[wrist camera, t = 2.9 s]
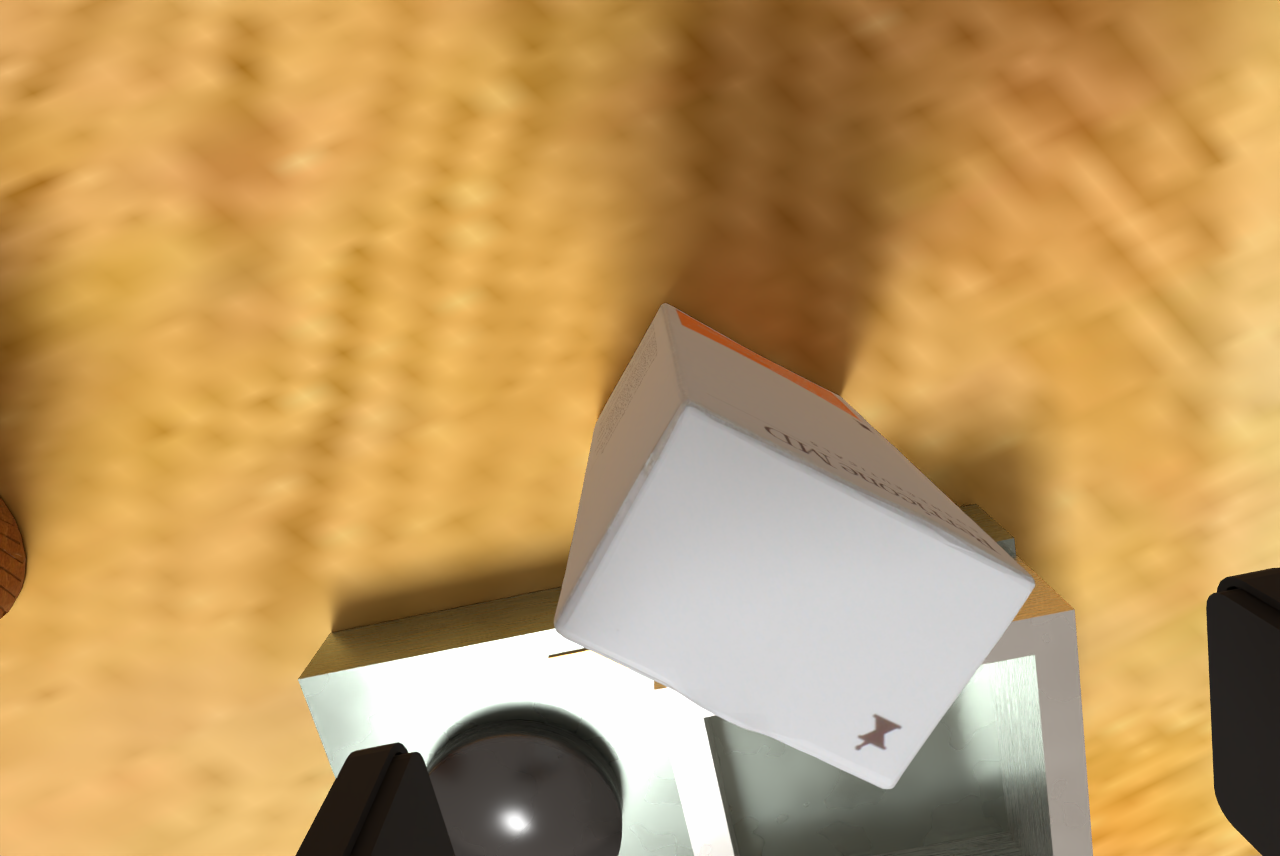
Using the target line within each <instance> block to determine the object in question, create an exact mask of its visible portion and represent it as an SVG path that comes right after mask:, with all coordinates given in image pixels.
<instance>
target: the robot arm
mask: <svg viewBox="0 0 1280 856" xmlns="http://www.w3.org/2000/svg"><path fill="white" fill-rule="evenodd" d="M1206 610H1207V633H1208V656H1209V679H1210V703H1211V726H1212V749H1213V772H1214V789H1215V795H1216V798H1217V801H1218V803H1219V806H1220V808H1221V810H1222V812H1223V813H1224V815H1225V816H1226V818H1227V819H1228V821H1229V822H1230V823H1231V824H1232V825H1233V827H1234V828H1235V829H1236V830H1237V831H1238V832H1239V833H1240V834H1241V835H1242V836H1243V837H1244V838H1245V839H1246V840H1247V841H1248V842H1249V843H1250V844H1251V845H1252V846H1253V847H1254V848H1255V849H1256V850H1257V851H1258V852H1259V853H1260V854H1261V855H1262V856H1280V568H1271V569H1266V570H1261V571H1256V572H1251V573H1246V574H1241V575H1236V576H1231V577H1226V578H1225V579H1223V580H1222V581H1221V582H1220V584H1219V586H1218V588H1217V593H1213V594H1212V595H1210V596H1209V598H1208V600H1207V607H1206ZM296 856H455V853H454V850H453V847H452V844H451V841H450V838H449V835H448V832H447V828H446V825H445V822H444V819H443V816H442V813H441V810H440V807H439V804H438V801H437V798H436V795H435V792H434V789H433V786H432V783H431V780H430V777H429V773H428V770H427V767H426V764H425V762H424V759H423V757H422V755H421V754H420V753H419V752H411V753H408V751H407V749H406V747H405V746H404V745H403V744H402V743H399V742H397V743H391V744H386V745H381V746H376V747H371V748H366V749H361V750H356V751H354V752H351V753H350V755H349V756H348V757H347V759H346V761H345V762H344V764H343V766H342V768H341V770H340V772H339V774H338V776H337V778H336V780H335V781H334V783H333V785H332V787H331V789H330V791H329V793H328V795H327V797H326V799H325V801H324V802H323V804H322V806H321V808H320V810H319V812H318V814H317V816H316V818H315V820H314V821H313V823H312V825H311V827H310V829H309V831H308V833H307V835H306V837H305V839H304V840H303V842H302V844H301V846H300V848H299V850H298V852H297V854H296Z"/></svg>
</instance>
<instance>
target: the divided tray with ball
mask: <svg viewBox="0 0 1280 856" xmlns="http://www.w3.org/2000/svg"><path fill="white" fill-rule="evenodd" d="M959 508H960V509H961V510H962V511H963V512H964V513H965V514H966V515H967V516H968V517H970V518H971V519H972V520H973V521H974V522H975V523H976V524H977V525H978V526H979V527H980V528H981V529H982V530H983V531H984V532H986V533H987V534H988V535H989V536H990V537H991V538H992V539H993V540H994V541H995V542H996V543H997V544H998V545H999V546H1000V547H1001V548H1003V549H1004V550H1005V551H1006V552H1007V553H1008V554H1009V555H1010V556H1011V557H1012V558H1013V559H1014V560H1015V561H1016V562H1017V563H1018V564H1019V565H1020V566H1021V567H1022V568H1024V569H1025V570H1026V571H1027V572H1028V573H1029V574H1030V575H1031V576H1032V577H1033V578H1034V581H1035V587H1034V589H1033V590H1032V592H1031V593H1030V595H1029V597H1028V598H1027V600H1026V601H1025V603H1024V604H1023V606H1022V607H1021V609H1020V610H1019V612H1018V613H1017V615H1016V616H1015V618H1014V619H1013V621H1012V622H1011V623H1010V625H1009V626H1008V628H1007V629H1006V631H1005V632H1004V634H1003V635H1002V637H1001V638H1000V639H999V641H998V642H997V643H996V645H995V646H994V648H993V649H992V650H991V652H990V653H989V654H988V656H987V657H986V658H985V660H984V661H983V663H982V664H981V665H980V667H979V668H978V669H977V671H976V672H975V674H974V675H973V676H972V678H971V679H970V681H969V682H968V683H967V685H966V686H965V687H964V689H963V690H962V691H961V693H960V694H959V695H958V697H957V698H956V700H955V701H954V702H953V704H952V705H951V706H950V708H949V709H948V710H947V712H946V713H945V715H944V716H943V717H942V719H941V720H940V722H939V723H938V724H937V726H936V727H935V728H934V730H933V731H932V733H931V734H930V736H929V737H928V738H927V740H926V741H925V743H924V744H923V745H922V747H921V748H920V750H919V751H918V752H917V754H916V755H915V757H914V758H913V760H912V761H911V762H910V764H909V765H908V767H907V768H906V770H905V771H904V773H903V774H902V776H901V777H900V779H899V780H898V782H897V784H896V785H895V787H893V788H892V789H882V788H880V787H877V786H875V785H873V784H871V783H869V782H867V781H865V780H863V779H860V778H858V777H856V776H854V775H852V774H850V773H847V772H845V771H843V770H841V769H839V768H837V767H835V766H832V765H830V764H828V763H826V762H824V761H822V760H820V759H818V758H816V757H814V756H811V755H809V754H807V753H804V752H802V751H799V750H797V749H795V748H793V747H791V746H789V745H787V744H785V743H782V742H780V741H778V740H776V739H774V738H772V737H769V736H767V735H764V734H761V733H757V732H753V731H749V730H747V729H744V728H741V727H739V726H737V725H735V724H733V723H730V722H728V721H726V720H724V719H722V718H720V717H718V716H716V715H715V714H713V713H711V712H709V711H707V710H705V709H703V708H701V707H699V706H698V705H696V704H695V703H693V702H691V701H690V700H688V699H687V698H685V697H684V696H682V695H680V694H679V693H677V692H676V691H674V690H672V689H670V688H668V687H666V686H664V685H662V684H660V683H658V682H656V681H654V680H651V679H649V678H647V677H645V676H643V675H640V674H638V673H636V672H634V671H632V670H630V669H628V668H626V667H624V666H622V665H620V664H618V663H615V662H613V661H611V660H609V659H607V658H605V657H603V656H601V655H599V654H597V653H594V652H592V651H590V650H588V649H586V648H584V647H582V646H580V645H578V644H575V643H573V642H571V641H569V640H567V639H565V638H564V637H562V636H561V635H560V634H558V633H557V631H556V629H555V626H554V617H555V613H556V609H557V605H558V601H559V597H560V594H561V589H562V587H558V588H553V589H548V590H543V591H538V592H533V593H528V594H523V595H518V596H513V597H508V598H503V599H498V600H493V601H488V602H483V603H478V604H473V605H468V606H463V607H458V608H453V609H448V610H443V611H438V612H433V613H428V614H423V615H418V616H413V617H408V618H403V619H398V620H393V621H388V622H383V623H378V624H373V625H368V626H363V627H358V628H353V629H348V630H343V631H338V632H333V633H330V634H329V636H328V637H327V639H326V640H325V642H324V643H323V644H322V646H321V647H320V649H319V650H318V652H317V653H316V654H315V656H314V657H313V659H312V660H311V662H310V663H309V664H308V666H307V667H306V669H305V670H304V672H303V673H302V674H301V676H300V677H299V679H298V681H299V683H300V686H301V689H302V691H303V694H304V696H305V699H306V702H307V704H308V707H309V710H310V712H311V715H312V718H313V720H314V723H315V725H316V728H317V731H318V733H319V736H320V739H321V741H322V744H323V747H324V749H325V752H326V754H327V757H328V760H329V762H330V765H331V768H332V770H333V773H334V776H335V778H337V776H338V774H339V772H340V770H341V768H342V766H343V764H344V762H345V761H346V759H347V757H348V756H349V755H350V753H351V752H354V751H356V750H361V749H366V748H371V747H376V746H381V745H386V744H391V743H397V742H399V743H402V744H403V745H404V746H405V747H406V749H407V751H408V753H411V752H419V753H420V754H421V755H422V757H423V759H424V762H425V764H426V767H427V770H428V773H429V777H430V780H431V783H432V786H433V789H434V792H435V795H436V798H437V801H438V804H439V807H440V810H441V813H442V816H443V819H444V822H445V825H446V828H447V832H448V835H449V838H450V841H451V844H452V847H453V850H454V853H455V856H1093V849H1092V836H1091V823H1090V809H1089V796H1088V783H1087V769H1086V756H1085V743H1084V729H1083V716H1082V703H1081V689H1080V676H1079V663H1078V649H1077V636H1076V623H1075V610H1074V609H1073V608H1072V607H1071V606H1070V605H1069V604H1068V603H1067V602H1066V601H1065V600H1064V599H1063V598H1062V597H1060V596H1059V595H1058V594H1057V593H1056V592H1055V591H1054V590H1053V589H1052V588H1051V587H1050V586H1049V585H1048V584H1047V583H1045V582H1044V581H1043V580H1042V579H1041V578H1040V577H1039V576H1038V575H1037V574H1036V573H1035V572H1034V571H1033V570H1032V569H1030V568H1029V567H1028V566H1027V565H1026V564H1025V563H1024V562H1023V561H1022V560H1021V559H1020V558H1019V557H1018V556H1017V555H1016V551H1015V541H1014V537H1013V536H1011V535H1010V534H1009V533H1008V532H1007V531H1006V530H1005V529H1004V528H1002V527H1001V526H1000V525H999V524H998V523H997V522H996V521H995V520H993V519H992V518H991V517H990V516H989V515H988V514H987V513H986V512H985V511H983V510H982V509H981V508H980V507H979V506H978V505H977V504H973V505H968V506H963V507H959Z"/></svg>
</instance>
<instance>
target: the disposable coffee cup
mask: <svg viewBox="0 0 1280 856" xmlns="http://www.w3.org/2000/svg"><path fill="white" fill-rule="evenodd" d="M25 560H26V558H25V553H24V548H23V543H22V538H21V534H20V532H19V529H18V527H17V524H16V522H15V519H14V518H13V516H12V514H11V513H10V511H9V510H8V508H7V506H6V505H5V503H4V501H3V500H2V499H1V498H0V619H1V618H2V617H3V616H4V615H5V614H6V613H8V612H9V610H10V608H11V607H12V605H13V603H14V602H15V600H16V598H17V596H18V595H19V593H20V591H21V588H22V584H23V581H24V578H25Z"/></svg>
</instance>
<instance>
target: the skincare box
mask: <svg viewBox="0 0 1280 856" xmlns="http://www.w3.org/2000/svg"><path fill="white" fill-rule="evenodd" d="M1034 587H1035V581H1034V578H1033V577H1032V576H1031V575H1030V574H1029V573H1028V572H1027V571H1026V570H1025V569H1024V568H1022V567H1021V566H1020V565H1019V564H1018V563H1017V562H1016V561H1015V560H1014V559H1013V558H1012V557H1011V556H1010V555H1009V554H1008V553H1007V552H1006V551H1005V550H1004V549H1003V548H1001V547H1000V546H999V545H998V544H997V543H996V542H995V541H994V540H993V539H992V538H991V537H990V536H989V535H988V534H987V533H986V532H984V531H983V530H982V529H981V528H980V527H979V526H978V525H977V524H976V523H975V522H974V521H973V520H972V519H971V518H970V517H968V516H967V515H966V514H965V513H964V512H963V511H962V510H961V509H960V508H959V507H958V506H957V505H956V504H954V503H953V502H952V501H951V500H950V499H949V498H948V497H947V496H946V495H945V494H944V493H943V492H942V491H941V490H940V489H939V488H938V487H936V486H935V485H934V484H933V483H932V482H931V481H930V480H929V479H928V478H927V477H926V476H925V475H924V474H923V473H921V472H920V471H919V470H918V469H917V468H916V467H915V466H914V465H913V464H912V463H911V462H910V461H909V460H908V459H907V458H906V457H905V456H904V455H903V454H902V453H901V452H900V451H898V450H897V449H896V448H895V447H894V446H893V445H892V444H890V443H889V442H888V441H887V440H886V439H885V438H884V437H883V436H882V435H881V434H880V433H879V432H878V431H876V430H875V429H874V428H873V427H872V426H871V425H870V424H869V423H868V422H867V421H866V420H865V419H864V418H863V417H862V416H861V415H860V414H859V413H857V412H856V411H855V410H854V409H853V408H852V407H851V406H850V405H849V404H848V403H847V402H846V401H845V400H844V399H843V398H842V397H840V396H839V395H837V394H835V393H833V392H831V391H829V390H827V389H825V388H823V387H821V386H819V385H817V384H815V383H813V382H811V381H809V380H807V379H805V378H803V377H801V376H799V375H797V374H795V373H793V372H791V371H789V370H787V369H785V368H784V367H782V366H780V365H778V364H776V363H774V362H772V361H770V360H768V359H766V358H764V357H762V356H760V355H758V354H756V353H755V352H753V351H751V350H749V349H747V348H745V347H743V346H742V345H740V344H738V343H736V342H735V341H733V340H731V339H730V338H728V337H726V336H724V335H722V334H721V333H719V332H717V331H715V330H714V329H712V328H710V327H708V326H706V325H705V324H703V323H701V322H699V321H698V320H696V319H694V318H692V317H691V316H689V315H687V314H685V313H684V312H682V311H680V310H678V309H677V308H675V307H673V306H671V305H669V304H667V303H663V304H662V305H661V306H660V308H659V310H658V312H657V314H656V316H655V317H654V319H653V321H652V323H651V325H650V326H649V328H648V330H647V332H646V334H645V335H644V337H643V339H642V341H641V343H640V344H639V346H638V348H637V350H636V352H635V353H634V355H633V357H632V359H631V361H630V362H629V364H628V366H627V368H626V369H625V371H624V373H623V375H622V376H621V378H620V380H619V382H618V383H617V385H616V387H615V389H614V391H613V392H612V394H611V396H610V398H609V400H608V401H607V403H606V405H605V407H604V409H603V411H602V412H601V414H600V416H599V418H598V420H597V422H596V424H595V428H594V433H593V437H592V443H591V448H590V453H589V458H588V463H587V468H586V473H585V478H584V484H583V489H582V494H581V499H580V503H579V509H578V514H577V519H576V524H575V529H574V534H573V539H572V543H571V547H570V553H569V558H568V562H567V567H566V572H565V577H564V580H563V584H562V589H561V594H560V597H559V601H558V605H557V609H556V613H555V617H554V626H555V629H556V631H557V633H558V634H560V635H561V636H562V637H564V638H565V639H567V640H569V641H571V642H573V643H575V644H578V645H580V646H582V647H584V648H586V649H588V650H590V651H592V652H594V653H597V654H599V655H601V656H603V657H605V658H607V659H609V660H611V661H613V662H615V663H618V664H620V665H622V666H624V667H626V668H628V669H630V670H632V671H634V672H636V673H638V674H640V675H643V676H645V677H647V678H649V679H651V680H654V681H656V682H658V683H660V684H662V685H664V686H666V687H668V688H670V689H672V690H674V691H676V692H677V693H679V694H680V695H682V696H684V697H685V698H687V699H688V700H690V701H691V702H693V703H695V704H696V705H698V706H699V707H701V708H703V709H705V710H707V711H709V712H711V713H713V714H715V715H716V716H718V717H720V718H722V719H724V720H726V721H728V722H730V723H733V724H735V725H737V726H739V727H741V728H744V729H747V730H749V731H753V732H757V733H761V734H764V735H767V736H769V737H772V738H774V739H776V740H778V741H780V742H782V743H785V744H787V745H789V746H791V747H793V748H795V749H797V750H799V751H802V752H804V753H807V754H809V755H811V756H814V757H816V758H818V759H820V760H822V761H824V762H826V763H828V764H830V765H832V766H835V767H837V768H839V769H841V770H843V771H845V772H847V773H850V774H852V775H854V776H856V777H858V778H860V779H863V780H865V781H867V782H869V783H871V784H873V785H875V786H877V787H880V788H882V789H892V788H893V787H895V785H896V784H897V782H898V780H899V779H900V777H901V776H902V774H903V773H904V771H905V770H906V768H907V767H908V765H909V764H910V762H911V761H912V760H913V758H914V757H915V755H916V754H917V752H918V751H919V750H920V748H921V747H922V745H923V744H924V743H925V741H926V740H927V738H928V737H929V736H930V734H931V733H932V731H933V730H934V728H935V727H936V726H937V724H938V723H939V722H940V720H941V719H942V717H943V716H944V715H945V713H946V712H947V710H948V709H949V708H950V706H951V705H952V704H953V702H954V701H955V700H956V698H957V697H958V695H959V694H960V693H961V691H962V690H963V689H964V687H965V686H966V685H967V683H968V682H969V681H970V679H971V678H972V676H973V675H974V674H975V672H976V671H977V669H978V668H979V667H980V665H981V664H982V663H983V661H984V660H985V658H986V657H987V656H988V654H989V653H990V652H991V650H992V649H993V648H994V646H995V645H996V643H997V642H998V641H999V639H1000V638H1001V637H1002V635H1003V634H1004V632H1005V631H1006V629H1007V628H1008V626H1009V625H1010V623H1011V622H1012V621H1013V619H1014V618H1015V616H1016V615H1017V613H1018V612H1019V610H1020V609H1021V607H1022V606H1023V604H1024V603H1025V601H1026V600H1027V598H1028V597H1029V595H1030V593H1031V592H1032V590H1033V589H1034Z"/></svg>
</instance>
